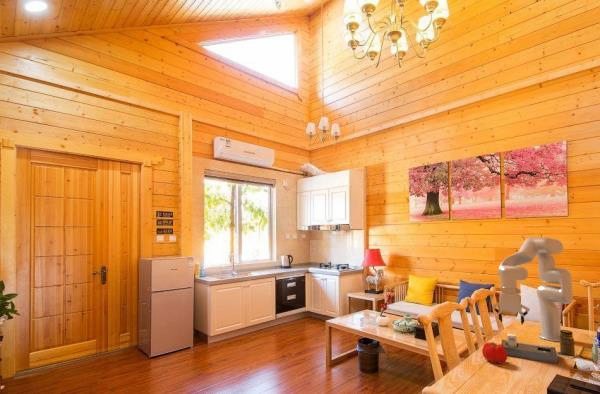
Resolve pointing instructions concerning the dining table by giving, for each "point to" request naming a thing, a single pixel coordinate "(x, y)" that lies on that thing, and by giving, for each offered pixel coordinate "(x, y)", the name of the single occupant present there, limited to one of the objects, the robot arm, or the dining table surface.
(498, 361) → the tomato
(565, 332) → the condiment
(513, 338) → the plug
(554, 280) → the robot arm
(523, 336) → the dining table surface
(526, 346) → the panel
